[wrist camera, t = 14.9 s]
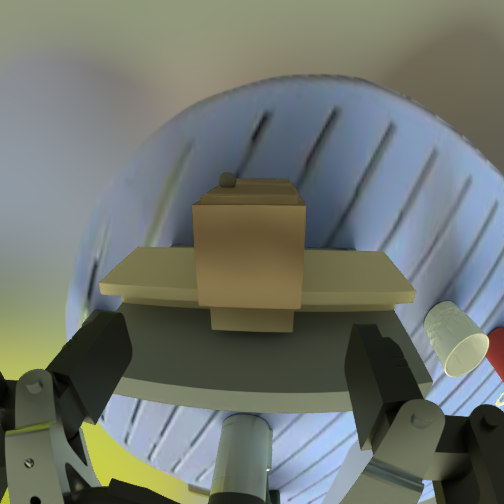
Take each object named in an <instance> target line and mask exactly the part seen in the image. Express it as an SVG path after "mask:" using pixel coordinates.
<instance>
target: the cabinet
mask: <svg viewBox="0 0 504 504" xmlns="http://www.w3.org/2000/svg"><path fill="white" fill-rule="evenodd" d="M219 184H220V185H219V186H217V187H215V188H214V189H212V190H211V191H209V192H207V193H206V194H204V195H203V196H201V200H199V201H198V202H196V203H195V204H193V205H192V217H193V235H194V250H195V264H196V277H197V289H198V300H199V306H210V313H211V326H212V330H229V331H252V332H293V320H294V309H301V296H302V281H303V264H304V246H305V223H306V205H305V203H304V202H303V200H302V198H301V196H300V195H299V193H298V191H297V190H296V188H295V186H294V184H293V183H290V181H289V179H265V178H237V179H236V177H235V175H234V174H232V173H230V172H226V173H223V174H222V175H221V176H220V178H219Z"/></svg>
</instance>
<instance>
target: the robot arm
mask: <svg viewBox="0 0 504 504" xmlns="http://www.w3.org/2000/svg"><path fill="white" fill-rule="evenodd" d="M132 354H133V349H132V344H131V340H130V337H129V333H128V329H127V325H126V321H125V318H124V315H123V314H122V313H120V312H111V311H101V312H100V313H99V314H98V315H97V317H96V318H95V319H94V320H93V321H92V322H90V323H88V324H86V325H85V326H83V327H82V328H80V329H79V330H78V331H77V332H76V333H75V335H74V336H73V337H72V339H70V340H69V342H68V343H67V344H66V346H64V347H63V349H62V350H61V351H60V352H59V353H58V355H57V356H56V357H55V358H54V360H53V361H52V362H51V363H50V364H49V365H48V367H47V368H46V369H45V370H43V369H34V370H30V371H28V372H26V373H25V374H23V376H21V377H20V378H19V380H16V381H15V380H5V379H4V377H3V375H2V373H1V372H0V502H1V500H2V498H3V496H4V493H5V491H6V489H7V487H8V491H9V498H10V504H180V503H178V502H175V501H173V500H171V499H168V498H166V497H164V496H162V495H160V494H158V493H156V492H154V491H152V490H150V489H148V488H144V487H140V486H137V485H133V484H129V483H126V482H123V481H119V480H116V479H113V478H112V479H111V481H110V484H109V486H101V484H100V482H99V480H98V479H97V477H96V475H95V473H94V470H93V467H92V464H91V460H90V457H89V454H88V450H87V446H86V442H85V438H84V434H83V431H82V429H81V427H80V426H81V424H82V422H83V421H84V422H87V423H90V424H93V425H96V423H97V421H98V419H99V418H100V416H101V414H102V412H103V410H104V408H105V407H106V405H107V403H108V401H109V399H110V397H111V396H112V394H113V392H114V390H115V388H116V387H117V385H118V383H119V381H120V380H121V378H122V376H123V374H124V373H125V371H126V369H127V367H128V366H129V364H130V362H131V359H132ZM404 357H405V356H404V354H403V352H402V350H401V348H400V346H399V345H398V344H397V343H396V342H395V341H393V340H392V339H391V338H390V337H382V335H381V333H380V331H379V329H378V327H377V325H376V323H358V324H353V326H352V329H351V333H350V338H349V343H348V348H347V352H346V357H345V364H344V371H345V378H346V382H347V386H348V391H349V395H350V400H351V404H352V409H353V414H354V419H355V423H356V428H357V433H358V438H359V444H360V449H361V451H362V450H371V449H372V451H373V457H372V459H371V460H370V462H369V463H368V464H367V466H366V467H365V469H364V470H363V472H362V473H361V475H360V476H359V477H358V479H357V480H356V482H355V483H354V485H353V486H352V487H351V489H350V490H349V492H348V493H347V494H346V496H345V497H344V498H343V499H342V501H341V502H340V504H417V502H418V500H419V498H420V496H421V494H422V492H423V489H424V484H422V480H432V482H433V487H434V492H435V497H436V502H437V504H504V412H503V411H502V410H501V409H499V408H498V407H496V406H493V405H489V404H484V405H480V406H478V407H476V408H475V409H474V410H473V411H472V413H471V414H470V416H469V417H464V416H449V415H444V413H443V411H442V410H441V408H440V407H439V406H438V405H436V404H435V403H433V402H431V401H428V400H424V398H423V395H422V393H421V391H420V388H419V386H418V384H417V382H416V380H415V377H414V375H413V373H412V371H411V369H410V367H409V365H408V363H407V360H406V359H405V358H404ZM272 437H273V431H272V430H270V429H269V425H268V423H267V422H266V421H265V420H263V419H261V418H259V417H257V416H253V415H247V414H240V415H233V416H230V417H228V418H227V419H225V421H224V422H223V426H222V431H221V437H220V442H219V447H218V453H217V458H216V464H215V469H214V475H213V480H212V486H211V492H210V497H209V502H208V504H265V499H266V481H267V471H269V470H271V462H272Z"/></svg>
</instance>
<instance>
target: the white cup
mask: <svg viewBox="0 0 504 504" xmlns="http://www.w3.org/2000/svg"><path fill="white" fill-rule="evenodd" d="M424 329H425V332H426V334H427V336H428V337H429V340H430V343H431V344H432V347H433V349H434V351H435V353H436V355H437V357H438V358H439V360H440V362H441V364H442V366H443V368H444V370H445V373H446V374H447V375H448V376H450V377H459V376H462V375H464V374H466V373H468V372H470V371H471V370H473V369H474V368H475V367H476V366H477V365H478V364H479V363H480V362H481V361H482V359H483V358H484V356H485V355H486V353H487V350H488V347H489V338H488V336H487V335H486V334H485V333H484V332H483V331H482V330H481V329H480V328H479V327H478V325H477V324H476V323H475V322H474V321H473V320H472V319H471V318H470V317H469V316H468V315H467V314H466V313H465V312H464V311H462V310H461V309H460V308H459V307H458V306H457V305H456V304H454V303H453V302H451V301H443V302H441V303H439V304H437V305H435V306H434V307H433V308H432V309H431V310H430V311H429V312H428V314H427V316H426V318H425V321H424Z"/></svg>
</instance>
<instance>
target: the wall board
mask: <svg viewBox="0 0 504 504" xmlns="http://www.w3.org/2000/svg"><path fill="white" fill-rule="evenodd" d="M99 287H100V291H101V294H104V295H115V296H121V297H122V302H123V303H122V304H121V305H120V307H119V308H118V309H117V310H116V312H120V313H122V314H123V315H124V318H125V321H126V325H127V329H128V333H129V337H130V340H131V344H132V349H133V354H132V359H131V362H130V364H129V366H128V367H127V369H126V371H125V373H124V374H123V376H122V378H121V380H120V381H119V383H118V385H117V387H116V388H115V390H114V392H113V394H118V395H122V396H127V397H132V398H137V399H142V400H148V401H153V402H159V403H165V404H172V405H179V406H186V407H194V408H203V409H213V410H224V411H237V412H255V413H326V412H344V411H353V409H352V404H351V400H350V395H349V391H348V386H347V382H346V378H345V371H344V364H345V357H346V352H347V348H348V343H349V338H350V333H351V329H352V326H353V324H358V323H376V325H377V327H378V329H379V331H380V333H381V335H382V337H390V338H391V339H392V340H393V341H395V342H396V343H397V344H398V345H399V346H400V348H401V350H402V352H403V354H404V356H405V357H404V358H405V359H406V360H407V363H408V365H409V367H410V369H411V371H412V373H413V375H414V377H415V380H416V382H417V384H418V386H419V388H420V391H421V393H422V395H423V398H424V399H425V397H426V395H427V393H428V391H429V389H430V387H431V385H432V383H433V380H432V378H431V376H430V374H429V373H428V371H427V369H426V367H425V365H424V363H423V361H422V359H421V357H420V355H419V354H418V352H417V350H416V348H415V346H414V344H413V343H412V341H411V339H410V337H409V335H408V334H407V332H406V330H405V328H404V327H403V325H402V323H401V321H400V320H399V318H398V316H397V315H396V313H395V311H394V308H395V304H398V303H413V301H414V297H415V293H416V290H415V289H414V288H413V287H412V285H411V284H410V283H409V282H408V280H407V279H406V278H405V277H404V275H403V274H402V273H401V272H400V271H399V269H398V268H397V267H396V266H395V265H394V263H393V262H392V261H391V260H390V259H389V257H388V256H387V255H386V254H385V253H384V252H383V251H356V249H347V248H304V264H303V281H302V296H301V309H294V320H293V332H252V331H229V330H212V326H211V313H210V306H199V300H198V289H197V277H196V264H195V250H194V246H182V245H172V246H171V247H170V248H169V247H137V248H136V249H135V250H134V251H133V252H132V253H131V254H130V255H128V256H127V257H126V258H125V259H124V260H123V261H122V262H121V263H120V264H119V265H117V266H116V267H115V268H114V269H113V270H112V271H111V272H110V273H109V274H108V275H107V276H106V277H105V278H103V279H102V280H101V281H100V282H99Z"/></svg>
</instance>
